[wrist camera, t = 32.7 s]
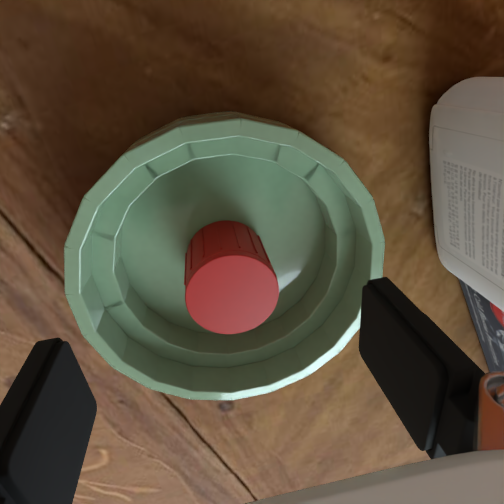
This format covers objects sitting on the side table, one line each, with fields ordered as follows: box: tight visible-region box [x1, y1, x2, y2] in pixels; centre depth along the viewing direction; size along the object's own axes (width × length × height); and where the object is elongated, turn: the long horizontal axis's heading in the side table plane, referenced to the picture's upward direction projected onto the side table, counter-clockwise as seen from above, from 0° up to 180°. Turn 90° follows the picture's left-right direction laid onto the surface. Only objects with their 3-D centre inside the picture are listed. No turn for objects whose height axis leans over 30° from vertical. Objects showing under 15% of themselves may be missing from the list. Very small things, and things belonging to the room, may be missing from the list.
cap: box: [184, 220, 279, 334], centre depth 16 cm, size 4×4×4 cm
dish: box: [64, 111, 385, 400], centre depth 16 cm, size 13×13×4 cm
